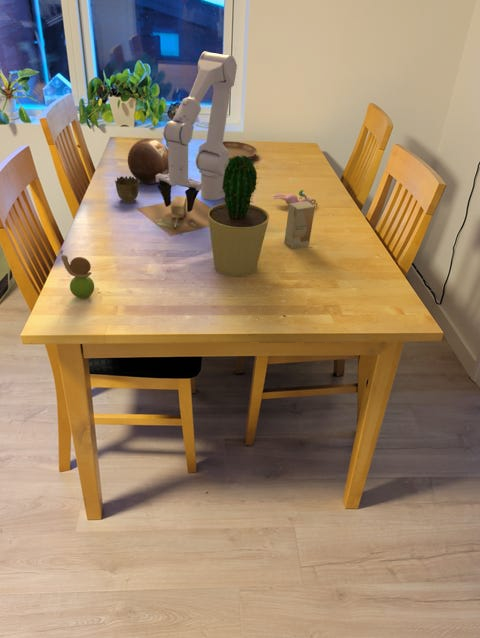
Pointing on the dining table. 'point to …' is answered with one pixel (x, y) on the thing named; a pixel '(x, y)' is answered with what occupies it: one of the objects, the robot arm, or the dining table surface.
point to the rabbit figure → (294, 198)
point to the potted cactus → (237, 221)
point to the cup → (127, 188)
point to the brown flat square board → (188, 223)
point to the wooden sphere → (148, 160)
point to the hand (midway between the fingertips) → (178, 208)
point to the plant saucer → (239, 149)
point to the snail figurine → (79, 276)
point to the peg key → (178, 208)
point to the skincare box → (299, 224)
